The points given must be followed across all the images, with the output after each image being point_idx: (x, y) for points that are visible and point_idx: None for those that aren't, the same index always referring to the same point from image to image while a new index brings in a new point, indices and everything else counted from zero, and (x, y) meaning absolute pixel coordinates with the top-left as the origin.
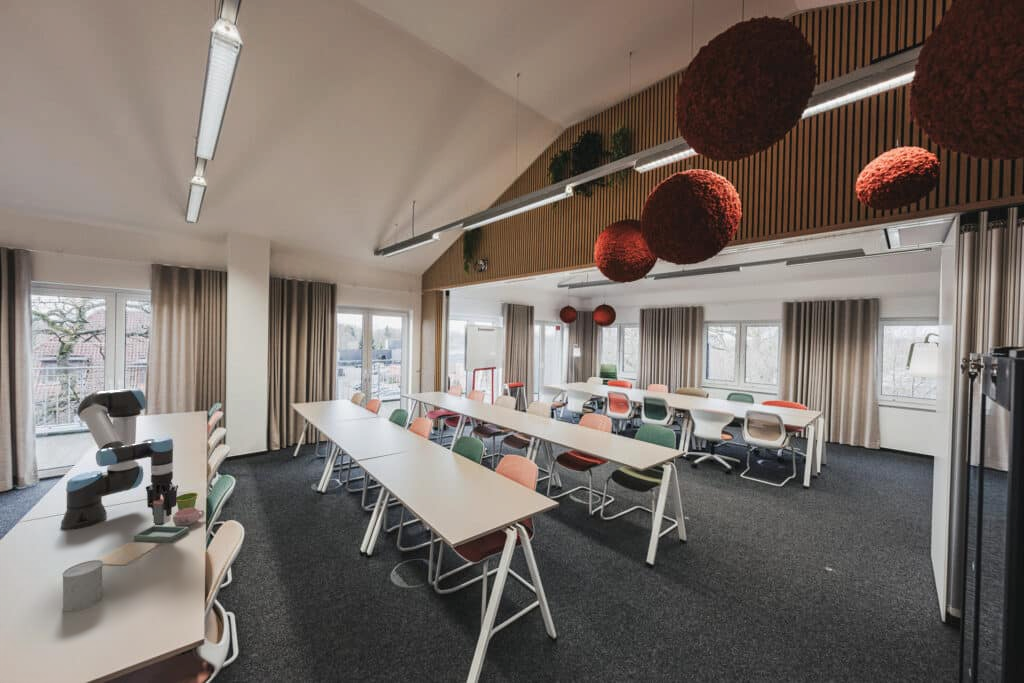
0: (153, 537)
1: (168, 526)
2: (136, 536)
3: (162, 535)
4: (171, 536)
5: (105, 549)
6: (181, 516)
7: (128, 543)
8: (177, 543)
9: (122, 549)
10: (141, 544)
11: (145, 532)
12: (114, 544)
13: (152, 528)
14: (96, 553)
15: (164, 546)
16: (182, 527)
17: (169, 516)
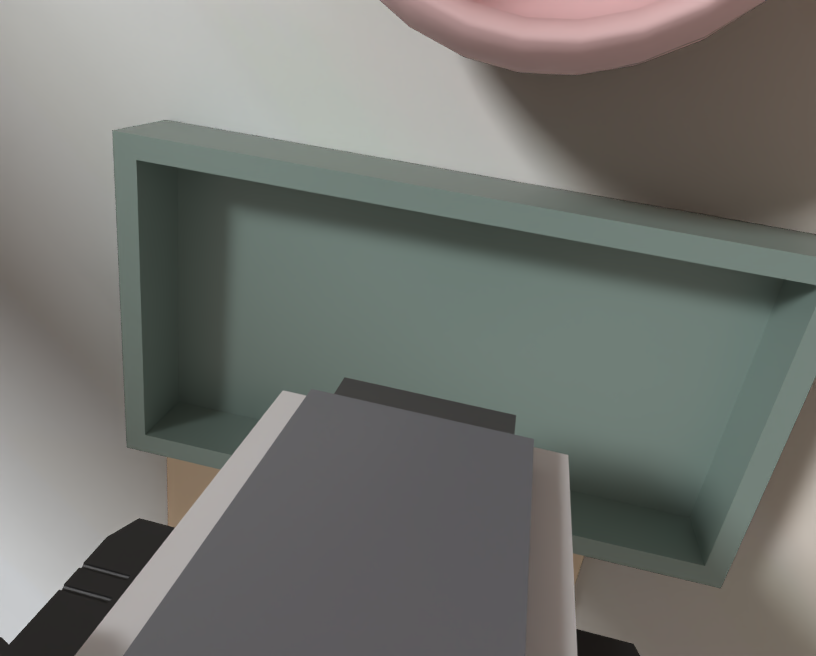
0: None
1: (427, 197)
2: (172, 450)
3: (457, 341)
4: (716, 563)
5: (41, 531)
6: (618, 45)
7: (173, 480)
8: (812, 558)
9: None
10: None
11: (162, 287)
12: (26, 445)
13: (158, 166)
14: (35, 586)
15: (667, 596)
16: (744, 270)
17: (562, 560)
